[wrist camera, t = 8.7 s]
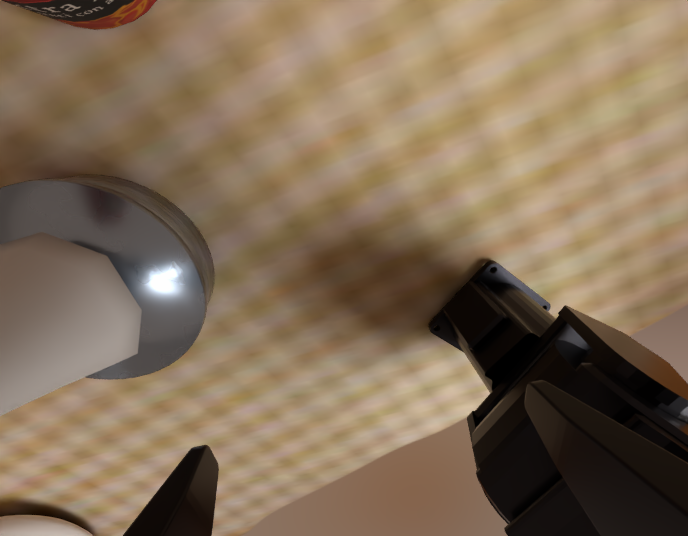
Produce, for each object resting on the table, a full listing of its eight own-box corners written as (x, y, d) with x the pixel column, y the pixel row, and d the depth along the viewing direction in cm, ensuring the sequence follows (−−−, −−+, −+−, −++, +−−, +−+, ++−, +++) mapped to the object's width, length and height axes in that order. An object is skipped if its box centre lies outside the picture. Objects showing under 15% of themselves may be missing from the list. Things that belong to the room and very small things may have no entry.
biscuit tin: (254, 242, 20) (244, 267, 17) (172, 365, 23) (151, 405, 20) (49, 120, 16) (-14, 123, 13) (-13, 288, 19) (-74, 322, 16)
